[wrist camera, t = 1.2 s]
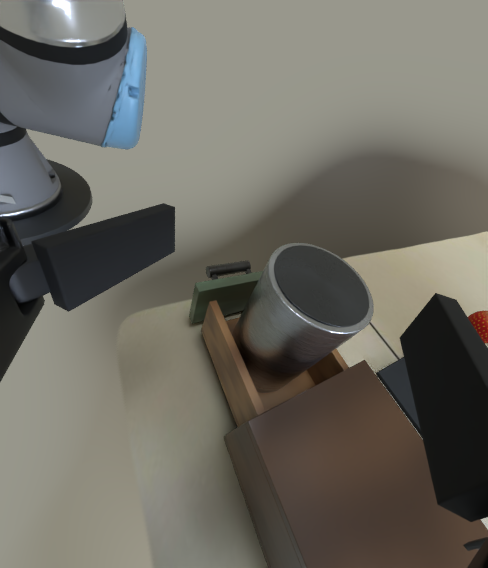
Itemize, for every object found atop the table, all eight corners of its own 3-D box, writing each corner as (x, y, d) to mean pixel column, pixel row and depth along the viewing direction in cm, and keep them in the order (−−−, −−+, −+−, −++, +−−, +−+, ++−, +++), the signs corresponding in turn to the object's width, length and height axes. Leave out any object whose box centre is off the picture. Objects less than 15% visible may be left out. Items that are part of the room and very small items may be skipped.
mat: (447, 471, 27) (451, 471, 27) (375, 373, 33) (378, 372, 33) (486, 424, 33) (489, 423, 32) (419, 347, 38) (421, 346, 38)
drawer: (179, 290, 32) (183, 254, 26) (256, 275, 37) (271, 244, 32) (238, 453, 22) (261, 445, 17) (329, 399, 28) (367, 382, 23)
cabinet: (223, 436, 23) (247, 420, 17) (320, 385, 29) (364, 359, 23) (318, 715, 15) (435, 889, 9) (424, 561, 21) (536, 597, 15)
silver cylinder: (214, 372, 25) (254, 296, 14) (240, 313, 31) (282, 228, 20) (286, 406, 25) (379, 354, 14) (298, 340, 30) (371, 268, 20)
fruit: (445, 331, 43) (491, 308, 37) (453, 320, 46) (497, 297, 40) (473, 356, 41) (526, 335, 35) (479, 343, 44) (529, 322, 38)
